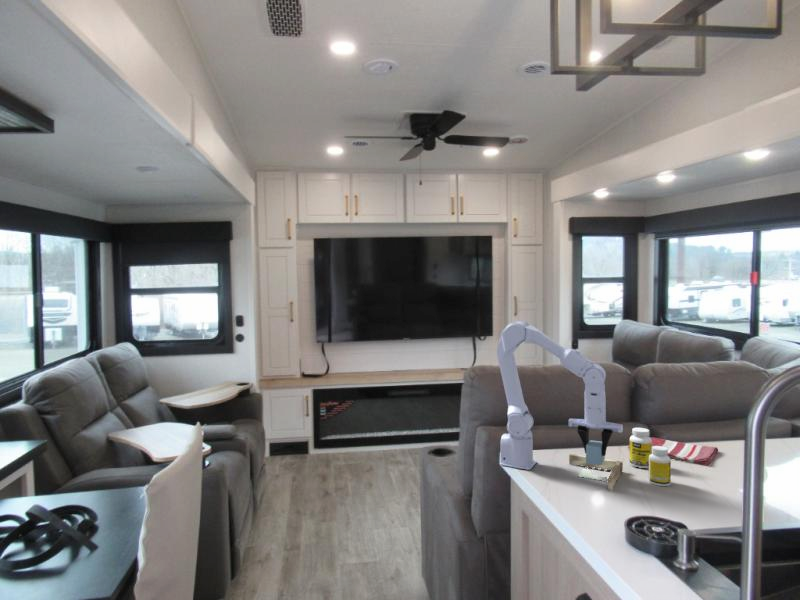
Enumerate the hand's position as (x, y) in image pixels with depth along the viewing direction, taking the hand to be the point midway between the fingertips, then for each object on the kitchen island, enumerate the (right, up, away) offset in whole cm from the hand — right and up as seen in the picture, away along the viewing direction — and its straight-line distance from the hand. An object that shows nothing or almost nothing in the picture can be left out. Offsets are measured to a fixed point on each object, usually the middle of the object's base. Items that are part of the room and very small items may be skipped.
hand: (595, 453), depth 147 cm
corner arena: (-2, -6, -1) cm, 7 cm away
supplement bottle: (+15, -6, -7) cm, 18 cm away
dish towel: (+32, -6, +19) cm, 38 cm away
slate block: (0, -2, 0) cm, 2 cm away
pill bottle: (+16, -6, +7) cm, 19 cm away
